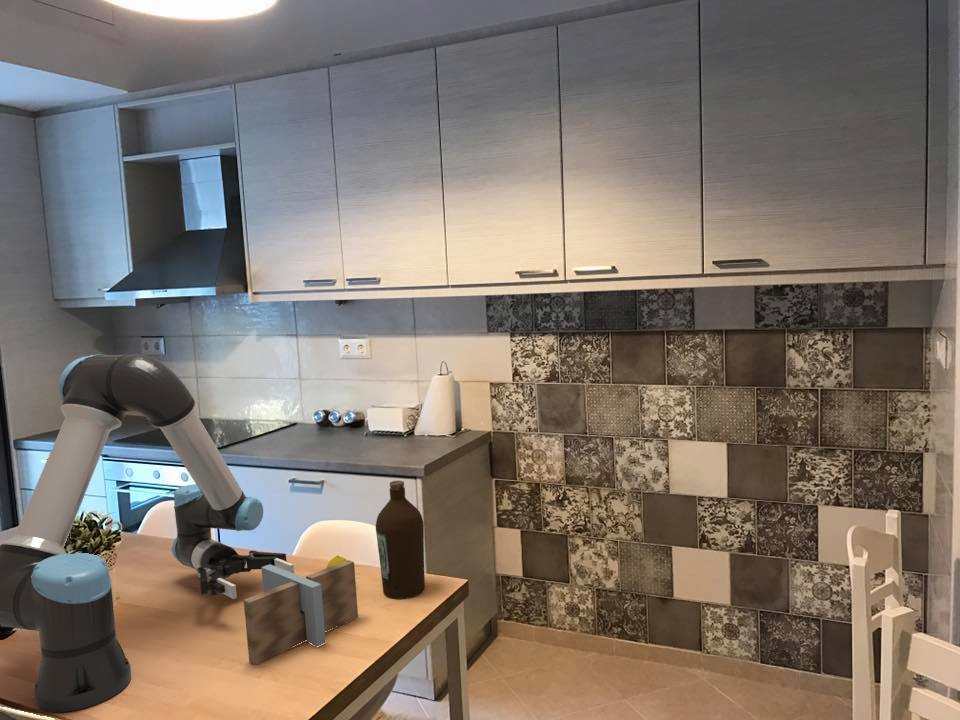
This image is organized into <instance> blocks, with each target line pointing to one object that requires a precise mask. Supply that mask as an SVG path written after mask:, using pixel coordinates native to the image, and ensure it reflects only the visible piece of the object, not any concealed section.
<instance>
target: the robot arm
mask: <svg viewBox="0 0 960 720" xmlns="http://www.w3.org/2000/svg"><path fill="white" fill-rule="evenodd" d="M57 387H58V390H59V392H60V393H59V394H58V395H59V398H60V400H61V402H62V404H61V406H60V411H61V413H62V415H63V416H64V420H63V422H62V425H61V427H60V429H59V432H58V434H57V437H56V438H55V441H54V443H53V445H52V447H51V450H50V452H49V454H48V457H47V460H46V461H45V464H44V467H43V469H42V471H41V474H40V476H39V478H38V481H37V482H36V485H35V487H34V489H33V492H32V494H31V497H30V499H29V500H28V503H27V506H26V508H25V511H23V515H22V517H21V520H20V522H19V524H18V527H17V529H16V531H15V534H14V535H13V536H12V537H10V538H9V539H6V540H5V541H2V542H1V543H0V627H1V628H15V629H21V630H25V631H26V630H27V631H35V632H38V635H39V644H40V651H41V658H40V659H41V660H40V666H39V670H38V676H37V681H36V683H35V686H34V689H33V690H34V691H33V695H34V702H35V705H36V707H37V708H38V709H39V710H41V711H44V712H48V713H49V712H50V713H67V712H72V711H74V712H75V711H77V710H83V709H86V708H88V707H92V706H95V705H98V704H100V703H103V702H105V701H107V700H109V699H110V698H112V697H114V696H116V695H118V694H119V693H120V692H122V691H123V690H124V689H125V688H126V687H127V686H128V685H129V683H130V682H131V680H132V671H131V664H130V661H129V659H128V658H127V657H126V654H125V653H124V652H125V651H124V650H123V648H122V646H121V644H120V642H119V640H118V638H117V633H116V623H115V611H114V602H113V601H114V600H113V592H112V591H113V589H112V578H111V575H110V571H109V567H108V563H107V562H106V561H105V559H103V557H102V556H100V557H99V556H97V555H94V554H89V553H79V552H75V553H70V552H66V549H64V546H65V543H66V541H67V538H68V536H69V533H70V534H71V530H72V528H73V526H74V523H75V520H76V519H77V516H78V512H79V510H80V508H81V505H82V502H83V500H84V499H85V495H86V493H87V491H88V488H89V485H90V483H91V480H92V478H93V475H94V472H95V470H96V468H97V465H98V464H99V460H100V458H101V455H102V453H103V450H104V447H105V445H106V442H107V441H108V438H109V436H110V433H111V432H112V431H114V430H116V429H119V428H121V427H122V424H123V423H124V422H123V421H124V419H125V416H126V414H127V412H137V413H139V414H141V415H142V416H144V417H145V418H146V419H147V420H148V422H149V423H150V424H151V426H152V427H153V428H157V429H158V428H159V429H160V430H161V432H162V433H163V435H164V437H165V438H166V439H167V441H168V442H169V444H170V445H171V447H172V449H173V450H174V452H175V453H176V455H177V456H178V458H179V461H181V463H182V465H183V466H184V467H185V470H186V471H187V472H188V473H189V475H190V477H191V478H192V480H193V482H194V483H195V484H187V485H184V486H180V487H178V488H177V489H176V490H175V491H174V492H173V499H174V500H173V501H174V503H173V504H174V505H173V509H174V516H175V517H174V518H175V523H176V532H177V533H176V534H177V535H176V537H175V539H173V543H172V545H171V552H172V556H173V557H174V559H176V560H177V561H178V562H179V563H180V564H181V565H184V566H187V567H189V568H192V569H194V570H196V571H197V579H198V581H199V584H200V594H201V595H206V594H207V593H208V591H210V595H211V596H216V595H218V594H222V595H225V596H227V597H228V598H230V599H231V600H235V599H237V598H238V594H237V586H236V584H234V583H231V582H230V581H228V580H226V579H227V578H229V577H230V576H232V575H234V574H240V573H250V572H251V571H252V570H253V571H255V570H262V569H261V567H264V566H266V565H269V564H271V565H273V566H276V567H278V568H281V569H283V570H286V571H289V572H291V573H294V574H295V568H294V564H293V563H291V562H289V561H287V553H285V552H284V553H282V552H269V551H267V552H265V551H264V552H263V551H256V550H249V552H248V555H246V554H245V555H243V554H242V555H241V554H239V553H237V551H236V550H235V549H234V548H233V547H232V546H229V545H227V544H225V543H222V542H220V541H218V540H214V539H212V529H218V530H219V529H220V530H227V531H228V530H230V531H237V532H240V531H243V532H244V531H253V530H255V529H257V528H258V527H259V526H260V524H261V522H262V520H263V516H264V507H263V504H262V502H261V501H260V499H258V498H256V497H252V496H246V494H245V493H244V491H243V489H242V488H241V486H240V484H239V483H238V481H237V479H236V478H235V476H234V475H233V472H232V471H231V469H230V468H229V466H228V465H227V462H226V461H225V459H224V458H223V456H222V454H221V453H220V450H219V449H218V447H217V446H216V444H215V442H214V441H213V439H212V437H211V436H210V434H209V432H208V431H207V428H206V427H205V426H204V424H203V423H202V422H203V421H202V420H201V419H200V417H199V415H198V414H197V412H196V410H195V407H196V401H195V399H194V397H193V395H192V393H191V392H190V390H189V389H188V388H187V386H186V385H185V383H183V381H182V380H181V379H180V378H179V377H178V375H177V374H175V372H174V371H173V370H171V368H170V367H168V366H167V365H165V364H164V363H163V362H161V361H160V360H158V359H156V358H154V357H152V356H149V355H147V354H140V353H134V354H133V353H132V354H108V355H107V354H103V353H102V354H91V355H88V356H81V357H79V358H76V359H75V360H73V361H71V362H70V363H69V364H68V365H67V366H66V367H65V369H64V370H63V371H62V373H61V375H60V377H59V381H58V386H57ZM209 577H210V579H209ZM208 580H209V581H208Z"/></svg>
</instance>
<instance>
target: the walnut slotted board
mask: <svg viewBox="0 0 960 720" xmlns="http://www.w3.org/2000/svg"><path fill="white" fill-rule="evenodd" d="M346 560H347V561H344V562H342V563H339V564H336V565H334V566H331V567H328V568H327V567H326V568H324V569H321V570H319V571H316V572H313V573H310V574H308V575H306V576H305V578H307V579H309V580H312V581H314V582H317V583H319V584H321V589H322V602H323V614H324V627H325V631H328V630H330V629H332V628H335V627H336V626H339V625H341V626H343V625H345V624H347V623H346V622H348V623H350V622H352V621H354V620H356V619H358V618H359V612H358V609H359V608H358V599H357V585H356V584H357V583H356V570H355V562H354V561H352V560H349V559H346ZM243 607H244V608H243V610H244V618H245V628H246V629H245V630H246V631H245V632H246V640H247V641H246V642H247V643H246V644H247V651H248V662H249V663H251V664H252V665H254V666H256V665H258V664H261V663H262V662H265V661H267V660H269V659H271V658H274V657H275V656H278V655H280V654H282V653H285V652H287V651H288V650H287V649H289V650H291V649H292V647H293V646H295V645H297V644H299V643H301V642H303V641H305V640H307V637H306V625H305V613H304V611H301V610H300V604H299V592H298V584H297V583H294V582H289V583H287V584H284V585H282V586H279V587H276V588H274V589H271V590H268V591H266V592H261V593H258V594H256V595H253V596H250V597H248V598H245V599H243ZM353 619H354V620H353ZM349 621H350V622H349ZM344 623H345V624H344ZM342 624H343V625H342ZM339 627H340V626H339ZM335 629H336V628H335ZM332 630H333V629H332ZM330 631H331V630H330ZM328 632H329V631H328ZM295 647H296V646H295ZM290 648H291V649H290ZM293 648H294V647H293ZM286 650H287V651H286ZM284 651H285V652H284ZM279 653H280V654H279Z"/></svg>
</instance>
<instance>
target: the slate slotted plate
mask: <svg viewBox="0 0 960 720" xmlns="http://www.w3.org/2000/svg"><path fill="white" fill-rule="evenodd" d="M260 570H261V579H262V589H263V592H266V591H268V590H271V589H274V588H276V587H279V586H282V585H284V584H287V583H289V582H294V583H297V584H298V592H299V604H300V610H301V611H304V613H305V625H306V637H307V641H308V642H310V643H312V644H313V645H315V646H319V645H321V644H323V643H325V642H326V643H327V641H326V633H325V627H324V614H323V602H322V589H321V584H319V583H317V582H314V581H312V580H309V579H307V578H306V577H305V576H304V577H303V576H301V575H299V574H296V573H295V572H294V573H291V572H289V571H286V570H283V569H281V568H278V567H276V566H273V565H271V564H269V565H266V566H264V567H261V569H260ZM263 592H262V593H263ZM307 641H306V642H307ZM313 645H312V646H313ZM315 646H314V647H315Z"/></svg>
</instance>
